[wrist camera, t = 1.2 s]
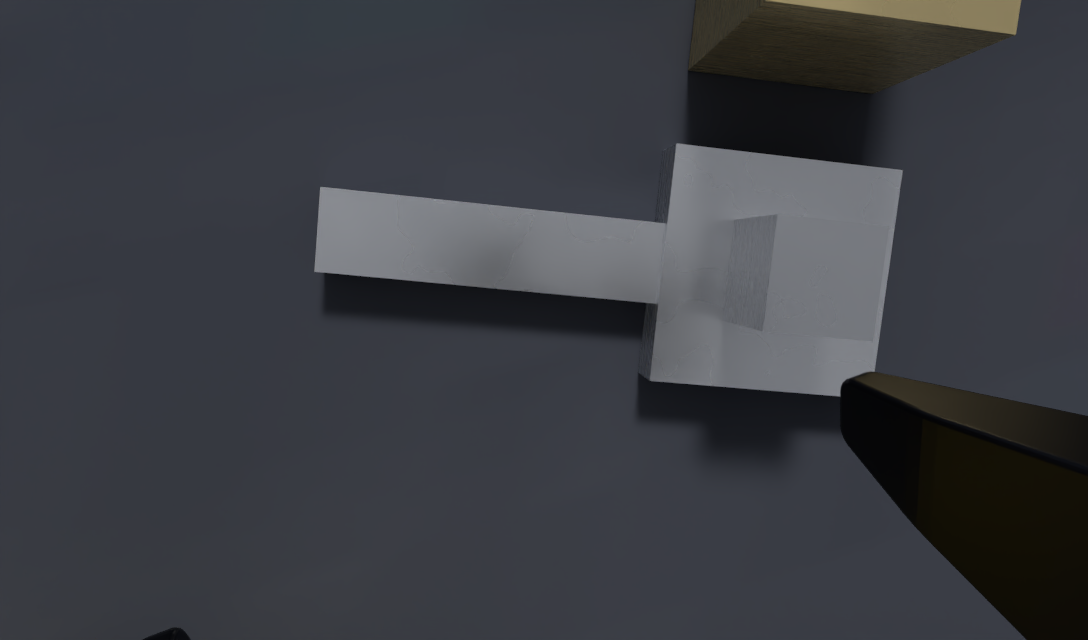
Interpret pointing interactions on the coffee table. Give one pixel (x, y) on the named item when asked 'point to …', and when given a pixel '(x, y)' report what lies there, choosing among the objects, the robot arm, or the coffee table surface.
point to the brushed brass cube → (843, 38)
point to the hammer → (671, 262)
